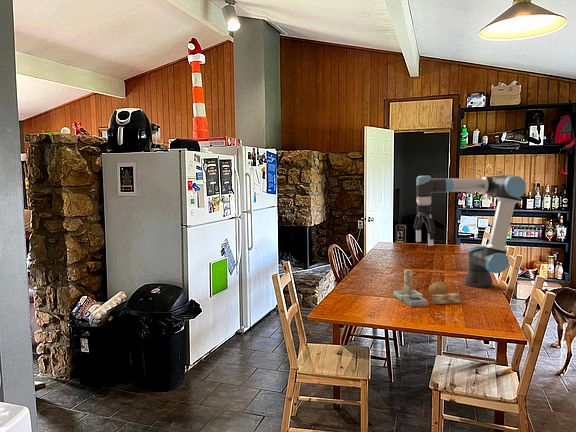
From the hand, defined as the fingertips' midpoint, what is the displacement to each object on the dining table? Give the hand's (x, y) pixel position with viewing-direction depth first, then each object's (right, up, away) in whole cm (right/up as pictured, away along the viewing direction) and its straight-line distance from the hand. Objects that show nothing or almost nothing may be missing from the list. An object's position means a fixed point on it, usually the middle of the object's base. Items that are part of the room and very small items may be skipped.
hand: (424, 243), depth 246 cm
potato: (+5, -29, -8) cm, 30 cm away
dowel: (-11, -28, -6) cm, 30 cm away
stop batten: (+6, -29, -15) cm, 33 cm away
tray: (-11, -28, -6) cm, 31 cm away
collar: (-10, -29, -17) cm, 35 cm away
